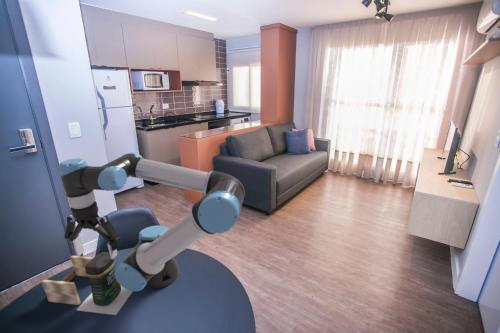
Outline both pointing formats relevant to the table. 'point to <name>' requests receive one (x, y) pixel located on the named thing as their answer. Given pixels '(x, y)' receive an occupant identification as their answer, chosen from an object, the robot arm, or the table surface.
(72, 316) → the table surface
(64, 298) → the shelf bay
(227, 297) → the table surface
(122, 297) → the mat
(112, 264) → the coffee jar
